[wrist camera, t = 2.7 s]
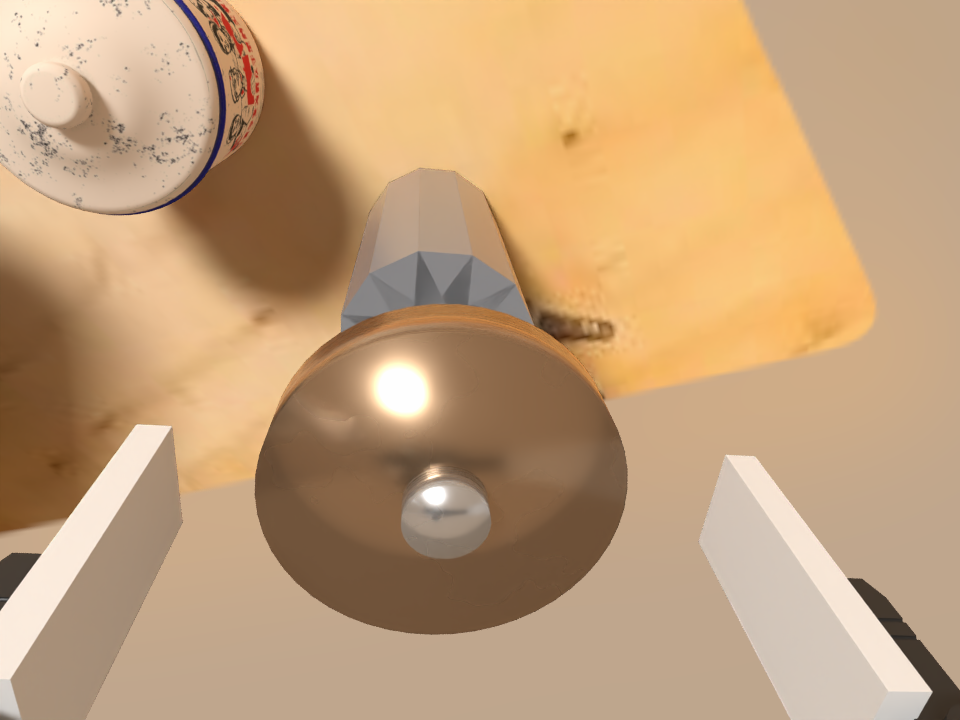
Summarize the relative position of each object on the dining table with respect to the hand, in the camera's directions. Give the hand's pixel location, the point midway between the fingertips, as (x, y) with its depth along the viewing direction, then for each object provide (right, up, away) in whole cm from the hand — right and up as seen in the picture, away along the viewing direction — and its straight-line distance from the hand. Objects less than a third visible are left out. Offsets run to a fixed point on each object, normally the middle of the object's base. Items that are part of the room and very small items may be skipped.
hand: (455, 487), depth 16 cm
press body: (-2, +9, +20) cm, 22 cm away
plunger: (-1, +6, +12) cm, 13 cm away
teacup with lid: (-14, +18, +15) cm, 27 cm away
